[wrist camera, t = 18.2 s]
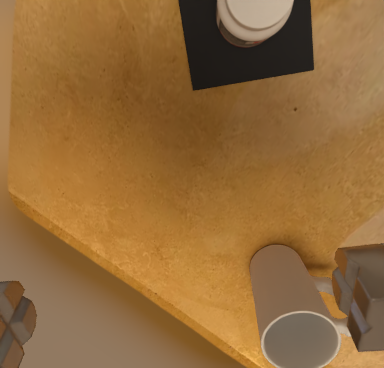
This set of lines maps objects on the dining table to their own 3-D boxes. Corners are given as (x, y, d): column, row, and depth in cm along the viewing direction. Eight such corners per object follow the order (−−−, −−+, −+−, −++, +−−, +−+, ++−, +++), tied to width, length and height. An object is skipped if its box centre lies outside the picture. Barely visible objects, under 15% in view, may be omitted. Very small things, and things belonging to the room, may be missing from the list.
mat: (193, 90, 35) (193, 90, 34) (171, -44, 31) (171, -45, 31) (312, 69, 33) (314, 70, 33) (305, -73, 30) (306, -74, 29)
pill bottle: (284, 33, 32) (315, 17, 23) (228, 57, 33) (235, 51, 24) (265, -31, 30) (289, -77, 21) (206, -3, 31) (205, -36, 22)
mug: (246, 290, 42) (259, 372, 30) (247, 242, 40) (262, 310, 28) (329, 290, 41) (374, 374, 30) (335, 241, 39) (386, 311, 28)
